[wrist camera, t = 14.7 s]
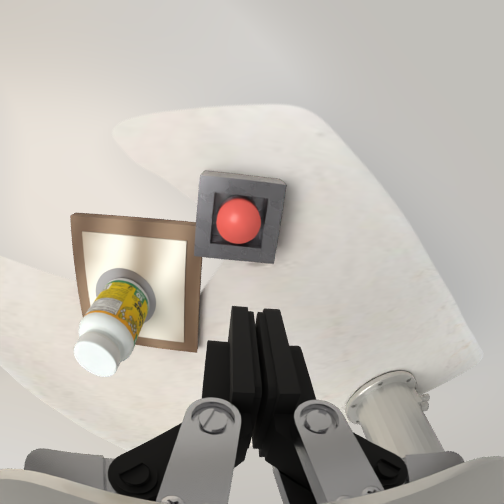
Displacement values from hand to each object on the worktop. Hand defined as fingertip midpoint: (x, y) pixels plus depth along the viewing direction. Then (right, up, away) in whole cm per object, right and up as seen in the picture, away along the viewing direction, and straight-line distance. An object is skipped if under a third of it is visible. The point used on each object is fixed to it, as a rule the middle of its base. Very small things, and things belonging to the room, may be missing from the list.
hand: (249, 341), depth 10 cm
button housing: (-1, +7, +17) cm, 19 cm away
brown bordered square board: (-12, 0, +20) cm, 23 cm away
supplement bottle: (-13, -2, +19) cm, 23 cm away
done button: (-1, +7, +16) cm, 17 cm away
